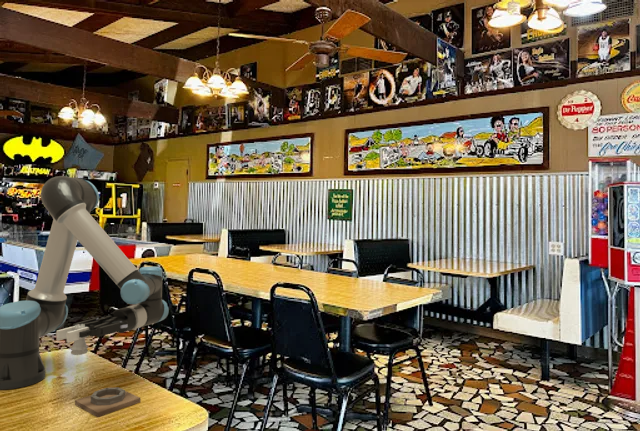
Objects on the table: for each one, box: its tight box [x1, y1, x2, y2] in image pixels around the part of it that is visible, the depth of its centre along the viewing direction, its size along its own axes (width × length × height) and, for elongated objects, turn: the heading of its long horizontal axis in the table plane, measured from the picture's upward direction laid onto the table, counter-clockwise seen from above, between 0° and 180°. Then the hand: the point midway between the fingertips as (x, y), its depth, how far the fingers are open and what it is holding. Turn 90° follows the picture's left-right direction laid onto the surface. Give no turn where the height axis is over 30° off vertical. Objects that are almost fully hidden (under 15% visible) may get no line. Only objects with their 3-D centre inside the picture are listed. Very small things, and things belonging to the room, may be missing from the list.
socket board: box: [74, 387, 141, 418], centre depth 125 cm, size 12×12×3 cm
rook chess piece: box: [70, 324, 89, 356], centre depth 129 cm, size 4×4×8 cm
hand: (62, 336), depth 124 cm, fingers closed on rook chess piece, 3 cm apart
